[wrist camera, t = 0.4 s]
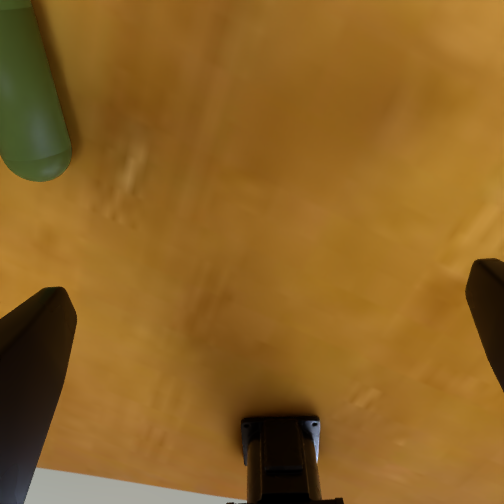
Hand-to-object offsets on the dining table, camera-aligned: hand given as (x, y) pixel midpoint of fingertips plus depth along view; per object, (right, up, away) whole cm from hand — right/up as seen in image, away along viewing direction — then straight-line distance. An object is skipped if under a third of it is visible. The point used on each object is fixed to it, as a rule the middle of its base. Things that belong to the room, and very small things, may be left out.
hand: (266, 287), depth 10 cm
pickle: (-11, +9, +11) cm, 18 cm away
